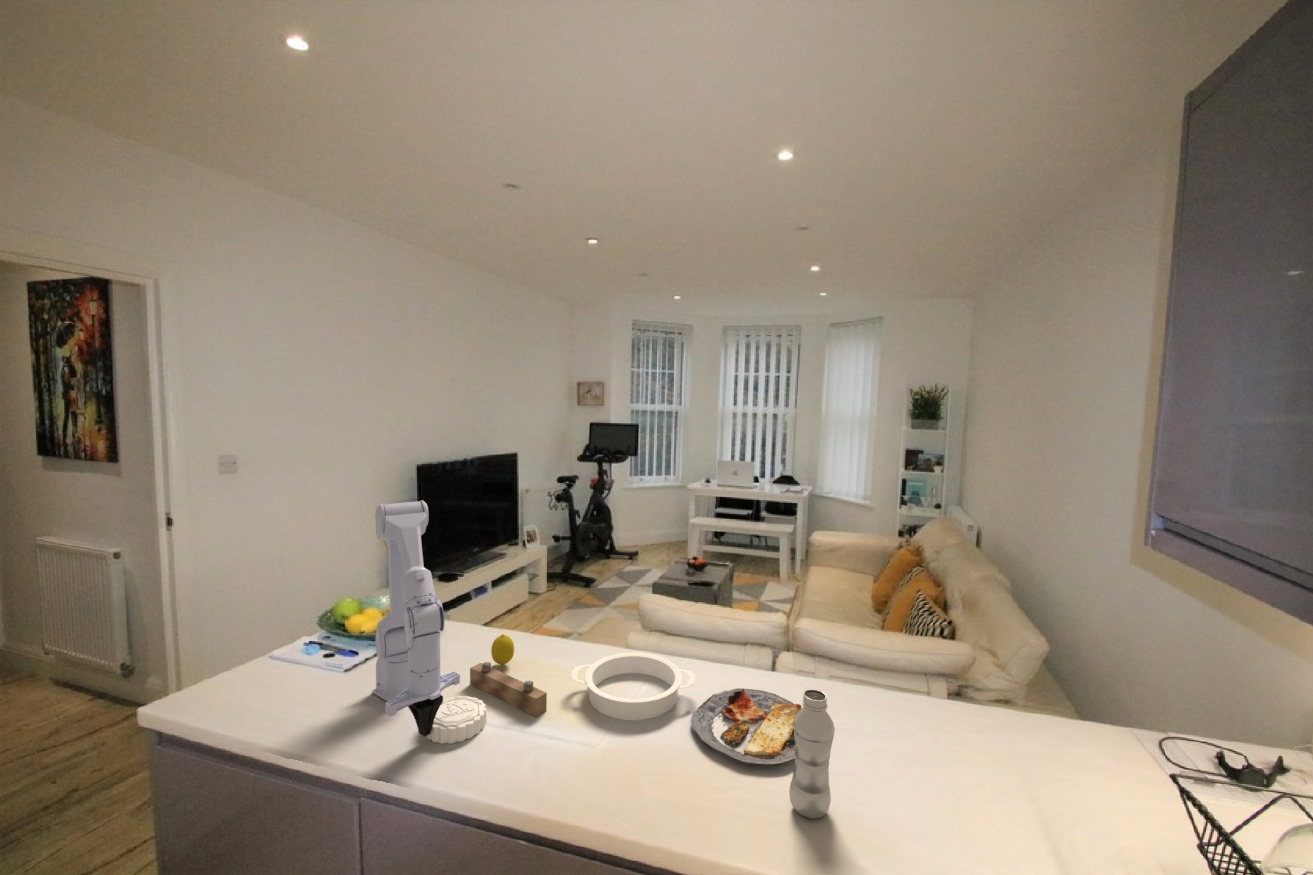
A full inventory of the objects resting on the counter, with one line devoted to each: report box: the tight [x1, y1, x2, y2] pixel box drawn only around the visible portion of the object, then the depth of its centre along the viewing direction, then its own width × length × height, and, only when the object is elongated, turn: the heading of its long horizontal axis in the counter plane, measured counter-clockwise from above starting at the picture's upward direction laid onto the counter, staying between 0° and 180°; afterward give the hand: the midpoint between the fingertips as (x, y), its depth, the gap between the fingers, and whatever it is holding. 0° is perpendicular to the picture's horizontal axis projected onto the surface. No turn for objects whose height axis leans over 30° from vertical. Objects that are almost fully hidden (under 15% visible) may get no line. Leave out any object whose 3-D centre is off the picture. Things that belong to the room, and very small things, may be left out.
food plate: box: [690, 688, 803, 765], centre depth 113 cm, size 25×23×4 cm
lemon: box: [490, 634, 515, 667], centre depth 137 cm, size 6×6×8 cm
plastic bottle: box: [788, 688, 836, 820], centre depth 90 cm, size 6×7×20 cm
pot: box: [570, 652, 696, 721], centre depth 125 cm, size 29×22×5 cm
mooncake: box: [426, 695, 487, 745], centre depth 111 cm, size 12×12×4 cm
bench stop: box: [469, 661, 548, 718], centre depth 123 cm, size 22×3×6 cm, turn 56°
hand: (424, 733), depth 106 cm, fingers closed
